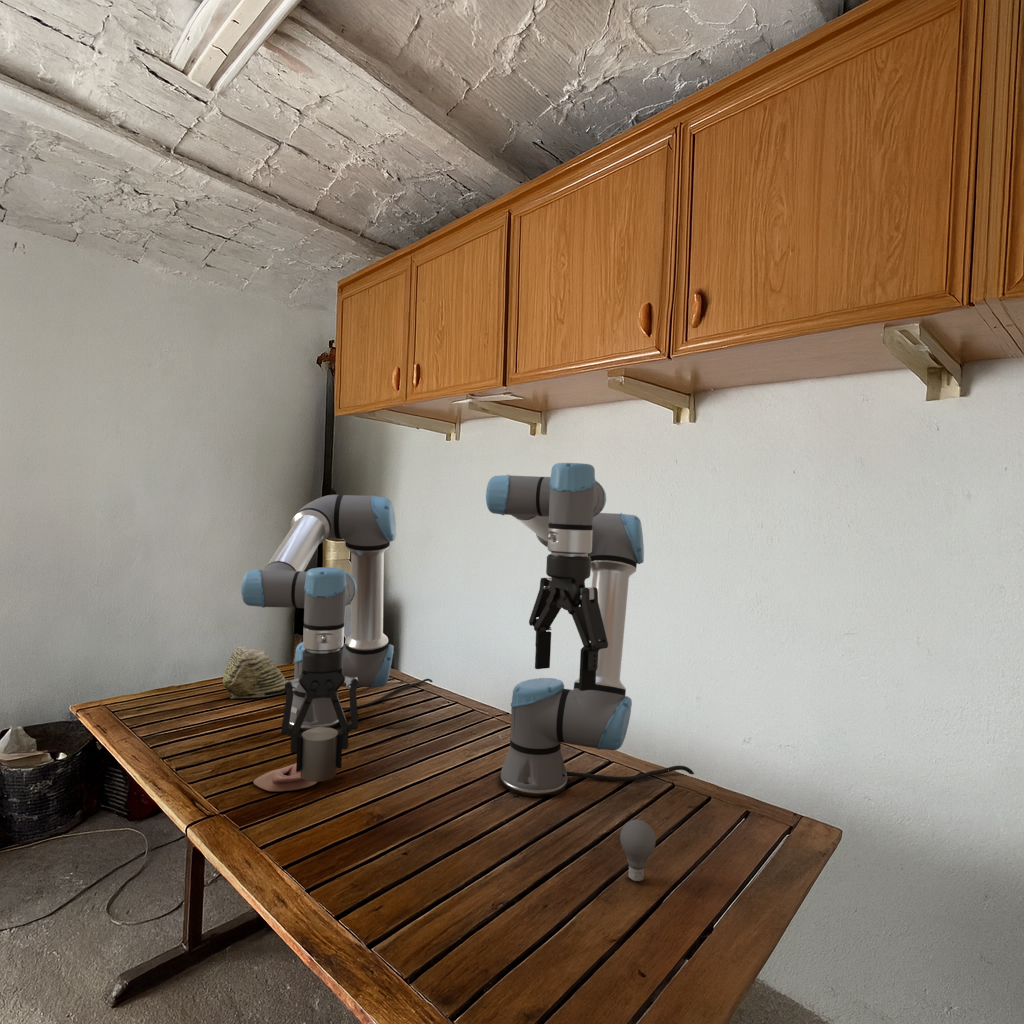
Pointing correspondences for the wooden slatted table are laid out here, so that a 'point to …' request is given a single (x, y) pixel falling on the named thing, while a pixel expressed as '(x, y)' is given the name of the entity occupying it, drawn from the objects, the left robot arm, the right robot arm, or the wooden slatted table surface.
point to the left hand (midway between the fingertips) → (318, 766)
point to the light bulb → (637, 846)
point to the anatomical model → (282, 780)
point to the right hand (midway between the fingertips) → (563, 678)
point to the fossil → (252, 674)
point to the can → (319, 754)
